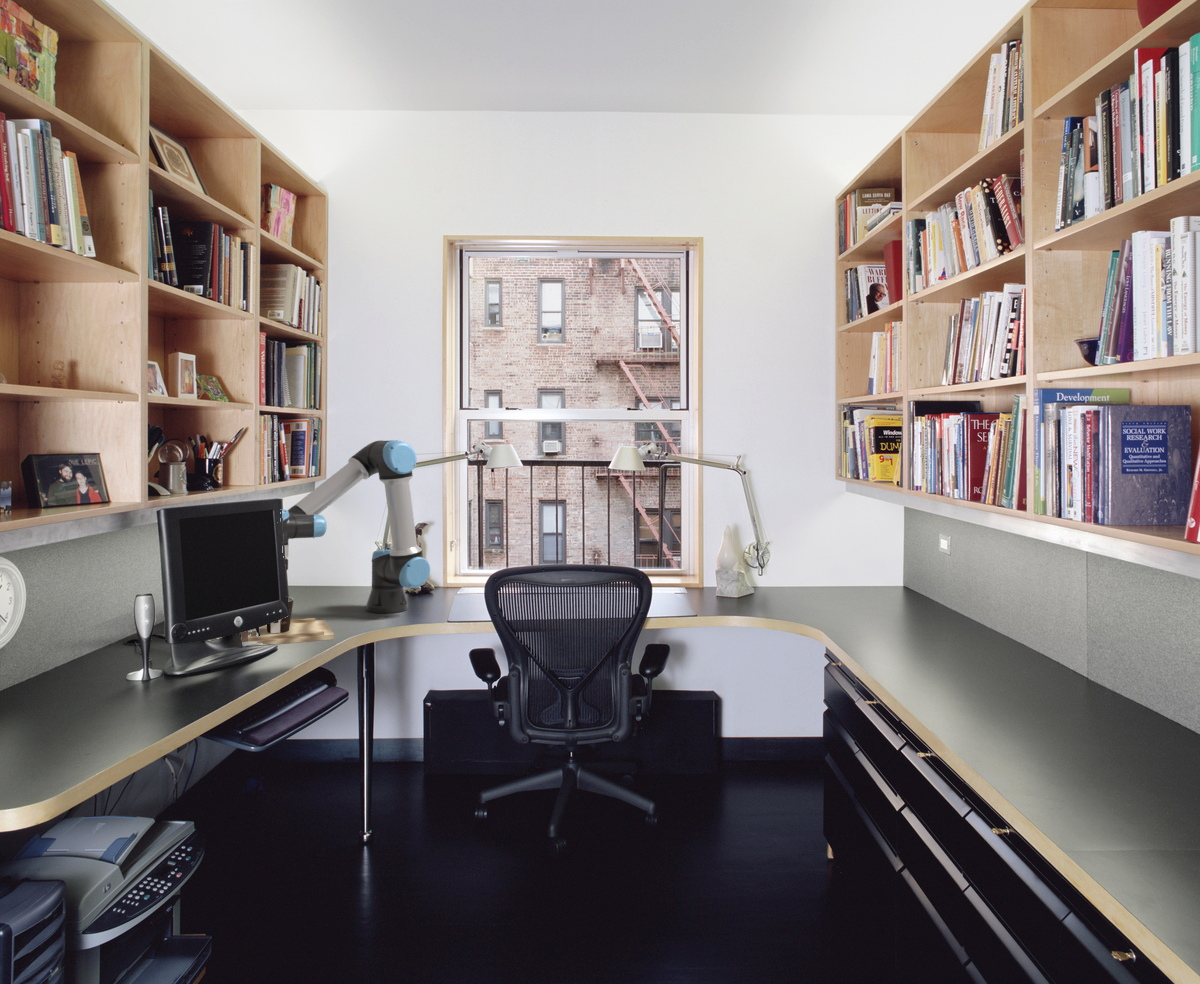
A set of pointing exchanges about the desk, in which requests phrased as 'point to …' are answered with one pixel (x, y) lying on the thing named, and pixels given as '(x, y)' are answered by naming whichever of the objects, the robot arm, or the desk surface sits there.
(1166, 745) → the desk surface
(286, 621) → the coffee mug
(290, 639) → the channel board
